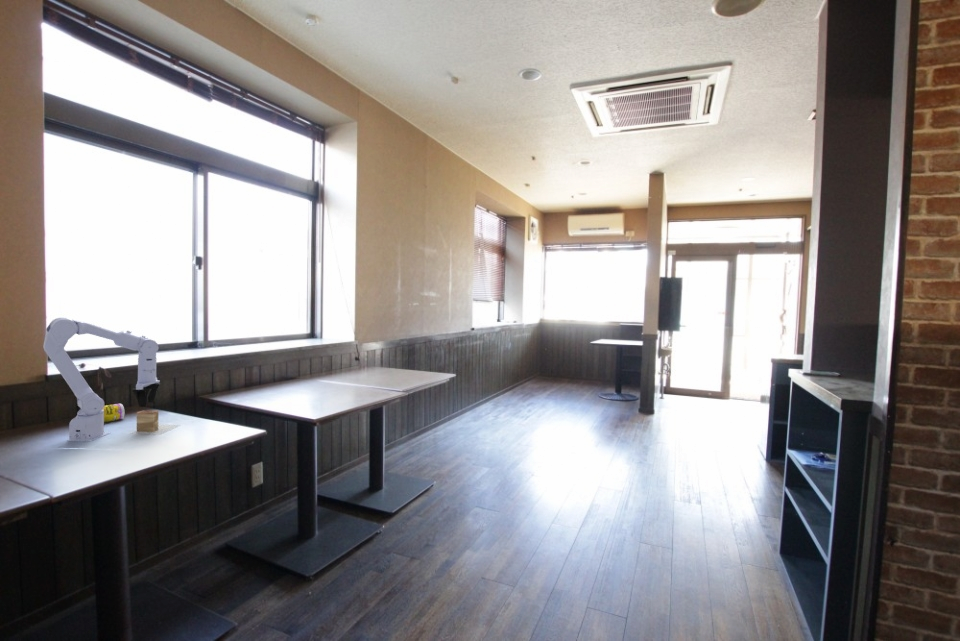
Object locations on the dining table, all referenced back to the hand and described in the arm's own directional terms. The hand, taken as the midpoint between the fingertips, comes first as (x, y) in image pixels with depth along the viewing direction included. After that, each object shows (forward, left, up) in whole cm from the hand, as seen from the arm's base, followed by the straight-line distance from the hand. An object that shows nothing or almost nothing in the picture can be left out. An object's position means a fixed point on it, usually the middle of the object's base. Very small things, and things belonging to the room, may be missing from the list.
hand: (146, 404), depth 173 cm
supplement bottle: (+11, +17, -6) cm, 22 cm away
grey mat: (-2, -5, -10) cm, 11 cm away
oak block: (-4, -3, -9) cm, 10 cm away
